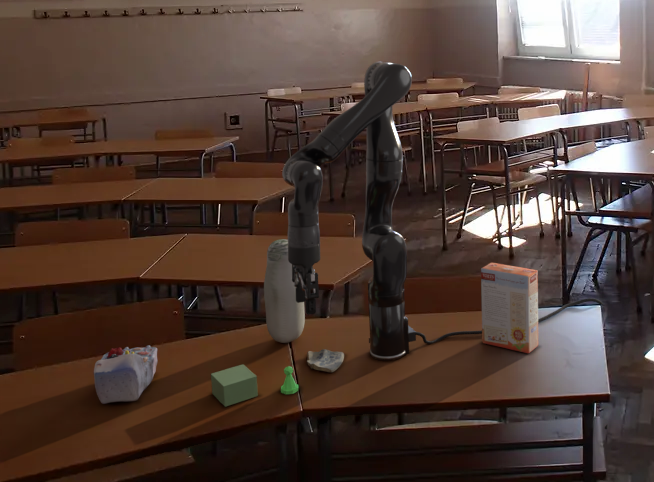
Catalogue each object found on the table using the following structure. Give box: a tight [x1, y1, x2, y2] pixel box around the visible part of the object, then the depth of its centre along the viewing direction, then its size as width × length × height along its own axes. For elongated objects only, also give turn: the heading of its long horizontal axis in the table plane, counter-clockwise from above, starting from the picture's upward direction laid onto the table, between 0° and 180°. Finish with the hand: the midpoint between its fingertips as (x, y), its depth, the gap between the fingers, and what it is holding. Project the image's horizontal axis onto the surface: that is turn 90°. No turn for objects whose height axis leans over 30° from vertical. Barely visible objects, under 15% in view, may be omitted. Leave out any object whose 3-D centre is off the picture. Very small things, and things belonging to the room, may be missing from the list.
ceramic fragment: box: [306, 348, 345, 374], centre depth 210 cm, size 11×3×10 cm
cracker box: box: [480, 262, 539, 354], centre depth 216 cm, size 14×6×21 cm, turn 58°
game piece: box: [280, 365, 299, 395], centre depth 196 cm, size 4×4×6 cm
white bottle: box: [263, 239, 306, 344], centre depth 222 cm, size 10×10×28 cm
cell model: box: [93, 345, 159, 405], centre depth 198 cm, size 13×11×20 cm
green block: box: [210, 364, 259, 408], centre depth 194 cm, size 8×8×5 cm
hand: (305, 307), depth 198 cm, fingers open, 8 cm apart
